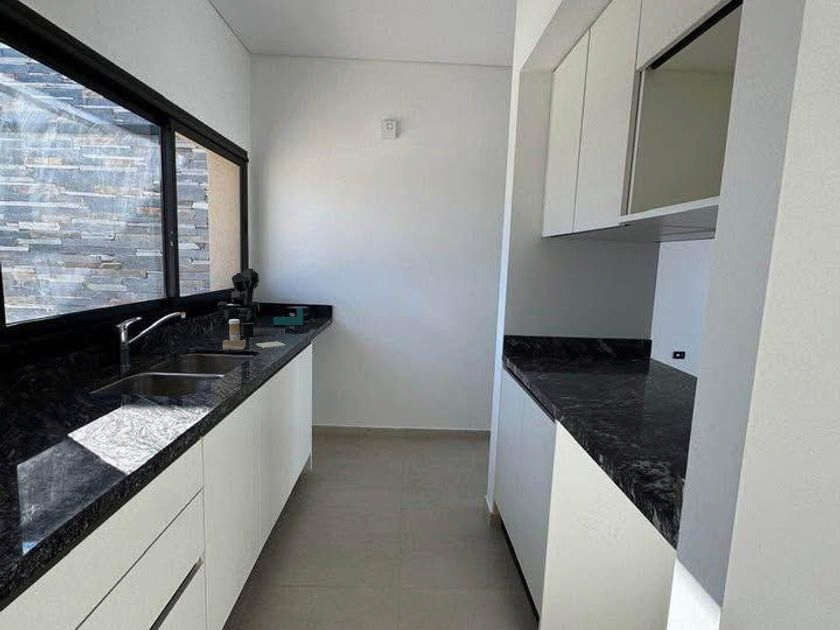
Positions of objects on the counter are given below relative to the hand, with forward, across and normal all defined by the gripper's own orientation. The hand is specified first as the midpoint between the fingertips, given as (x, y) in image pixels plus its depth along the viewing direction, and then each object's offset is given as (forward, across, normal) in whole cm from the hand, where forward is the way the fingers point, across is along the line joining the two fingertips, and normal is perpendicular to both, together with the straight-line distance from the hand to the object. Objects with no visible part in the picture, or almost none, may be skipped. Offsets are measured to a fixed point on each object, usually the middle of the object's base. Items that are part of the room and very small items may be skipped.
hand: (236, 320), depth 222 cm
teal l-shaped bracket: (-42, +17, +59) cm, 75 cm away
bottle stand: (+14, 0, +4) cm, 14 cm away
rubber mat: (+10, +16, +8) cm, 20 cm away
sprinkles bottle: (+13, 0, +5) cm, 14 cm away
